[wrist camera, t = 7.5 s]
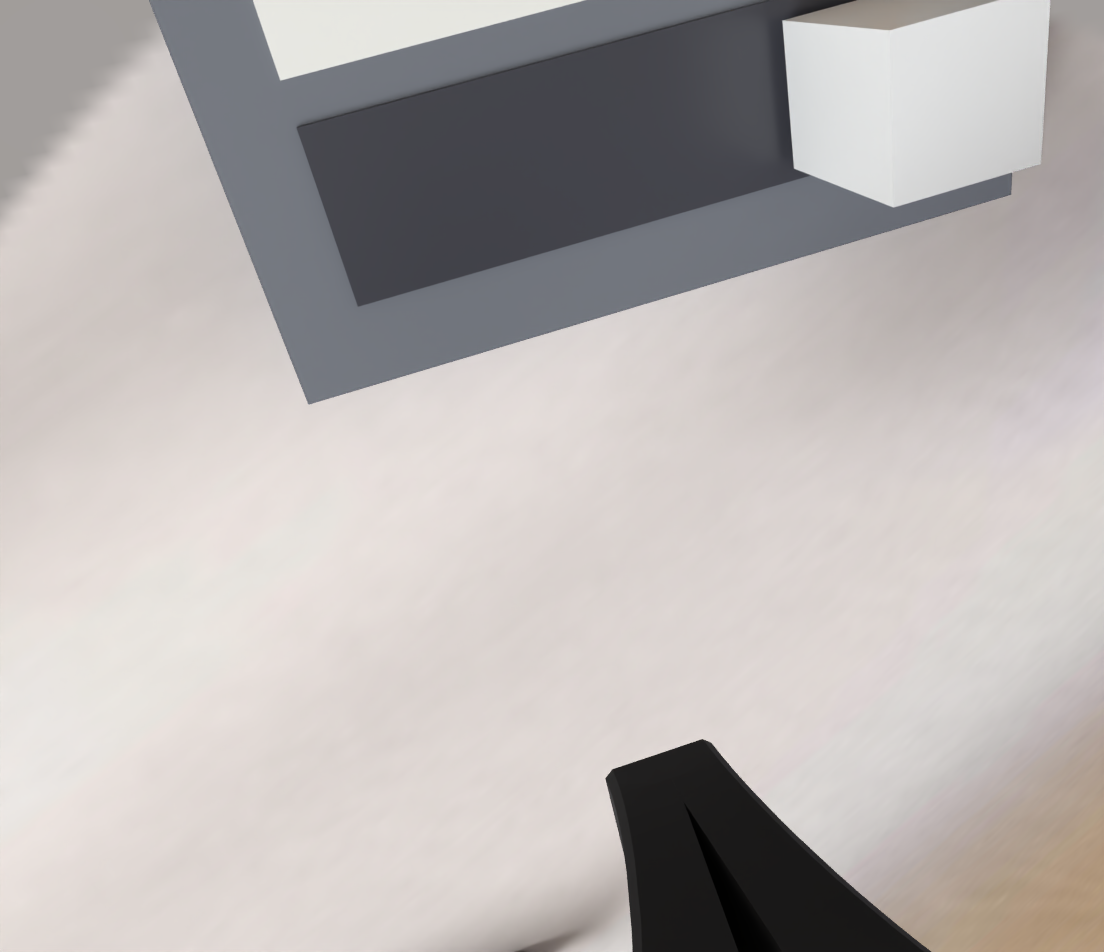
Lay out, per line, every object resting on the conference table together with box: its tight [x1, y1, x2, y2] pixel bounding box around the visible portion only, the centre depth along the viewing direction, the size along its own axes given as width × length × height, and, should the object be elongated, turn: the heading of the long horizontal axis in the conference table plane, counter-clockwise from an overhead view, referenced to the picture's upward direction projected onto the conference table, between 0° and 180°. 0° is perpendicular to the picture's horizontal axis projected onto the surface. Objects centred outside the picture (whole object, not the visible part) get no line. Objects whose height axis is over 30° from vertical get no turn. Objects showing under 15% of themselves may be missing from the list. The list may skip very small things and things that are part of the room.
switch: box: [782, 0, 1050, 208], centre depth 14 cm, size 2×2×3 cm
